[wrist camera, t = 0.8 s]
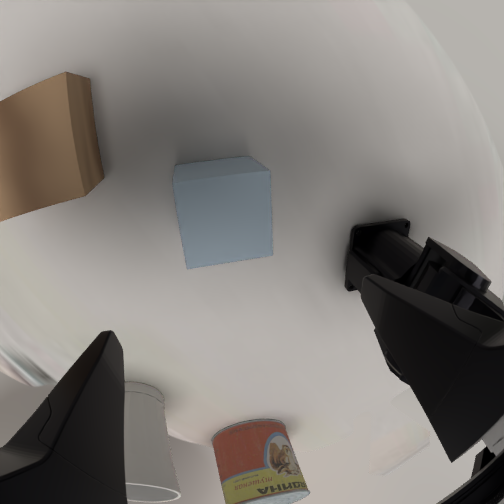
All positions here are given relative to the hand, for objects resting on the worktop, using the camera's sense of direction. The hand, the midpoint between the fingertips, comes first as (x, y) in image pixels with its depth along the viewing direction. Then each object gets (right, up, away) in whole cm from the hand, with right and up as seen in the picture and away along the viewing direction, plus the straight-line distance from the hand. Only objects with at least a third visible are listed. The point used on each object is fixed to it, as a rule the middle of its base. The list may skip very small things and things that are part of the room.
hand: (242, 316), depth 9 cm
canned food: (0, -25, +28) cm, 38 cm away
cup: (-13, -14, +18) cm, 26 cm away
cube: (-2, +6, +10) cm, 12 cm away
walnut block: (-13, +10, +6) cm, 17 cm away
